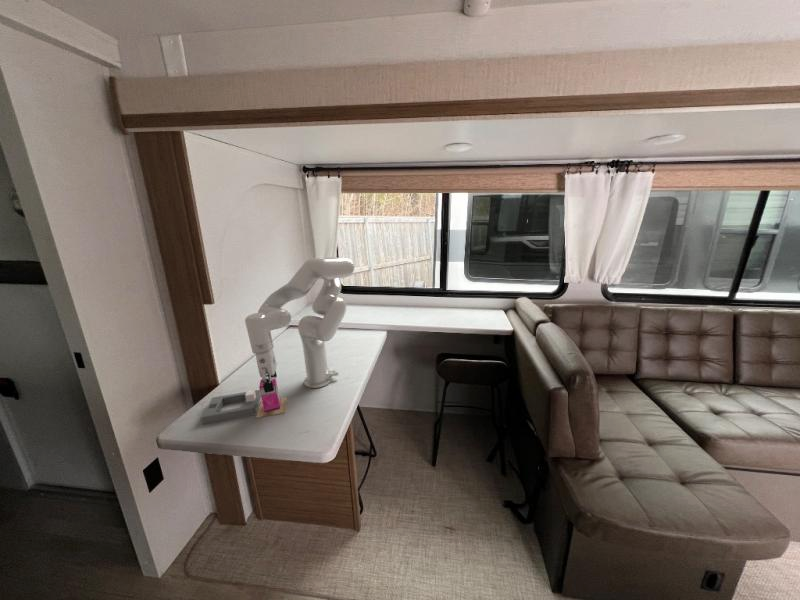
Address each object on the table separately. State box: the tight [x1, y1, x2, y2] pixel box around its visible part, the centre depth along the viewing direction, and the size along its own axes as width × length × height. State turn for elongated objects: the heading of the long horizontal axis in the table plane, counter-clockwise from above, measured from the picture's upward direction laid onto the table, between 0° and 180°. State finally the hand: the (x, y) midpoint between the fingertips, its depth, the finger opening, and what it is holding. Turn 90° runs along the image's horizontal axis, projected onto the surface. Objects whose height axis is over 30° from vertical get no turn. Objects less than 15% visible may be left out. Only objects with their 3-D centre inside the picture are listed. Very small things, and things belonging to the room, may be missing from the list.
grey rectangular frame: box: [200, 389, 261, 425], centre depth 117 cm, size 18×13×6 cm
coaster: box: [256, 397, 287, 419], centre depth 118 cm, size 10×10×1 cm
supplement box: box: [258, 377, 281, 412], centre depth 116 cm, size 6×6×12 cm
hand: (271, 384), depth 116 cm, fingers open, 9 cm apart
